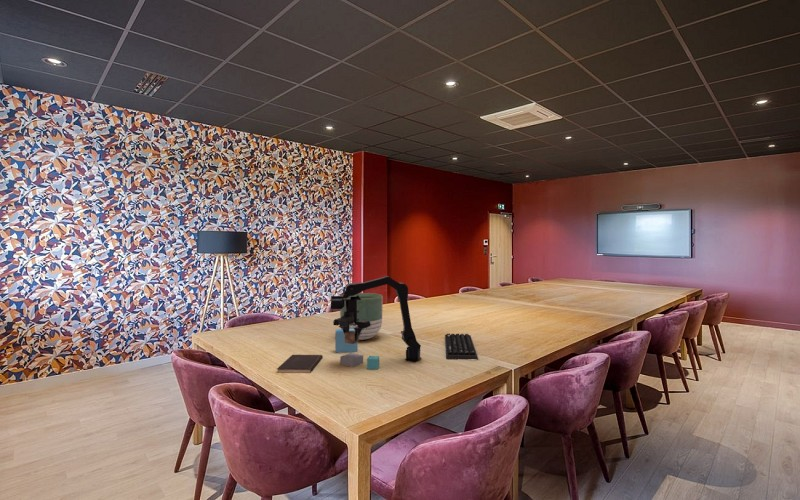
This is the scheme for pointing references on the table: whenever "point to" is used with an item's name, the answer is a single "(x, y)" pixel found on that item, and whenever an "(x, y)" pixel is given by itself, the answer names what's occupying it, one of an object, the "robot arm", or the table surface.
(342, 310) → the planter
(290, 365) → the hardcover book
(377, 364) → the teal cube
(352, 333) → the walnut cube
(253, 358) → the table surface
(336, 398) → the table surface
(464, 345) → the computer keyboard
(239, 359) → the table surface
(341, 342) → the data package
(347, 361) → the slate base block
